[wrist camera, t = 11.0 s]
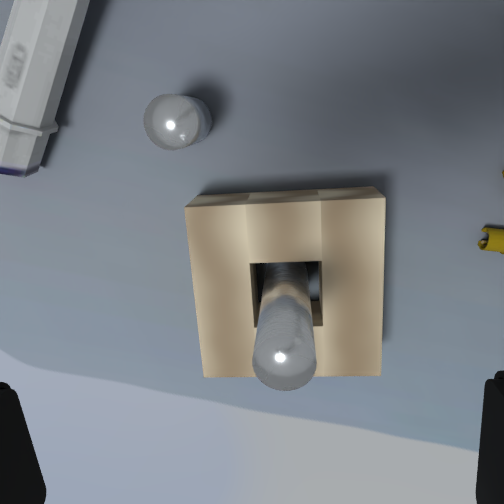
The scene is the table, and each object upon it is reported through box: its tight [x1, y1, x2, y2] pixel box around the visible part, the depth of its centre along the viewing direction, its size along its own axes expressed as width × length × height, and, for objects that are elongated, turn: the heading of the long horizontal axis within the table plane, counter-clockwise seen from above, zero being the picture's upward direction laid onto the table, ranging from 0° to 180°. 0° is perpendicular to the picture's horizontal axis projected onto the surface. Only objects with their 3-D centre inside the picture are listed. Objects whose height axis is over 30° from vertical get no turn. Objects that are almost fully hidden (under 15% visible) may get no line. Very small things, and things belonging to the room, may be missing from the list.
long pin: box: [252, 261, 317, 391], centre depth 26 cm, size 3×3×12 cm
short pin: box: [144, 94, 212, 150], centre depth 27 cm, size 3×3×5 cm
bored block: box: [184, 186, 386, 377], centre depth 30 cm, size 12×12×4 cm
